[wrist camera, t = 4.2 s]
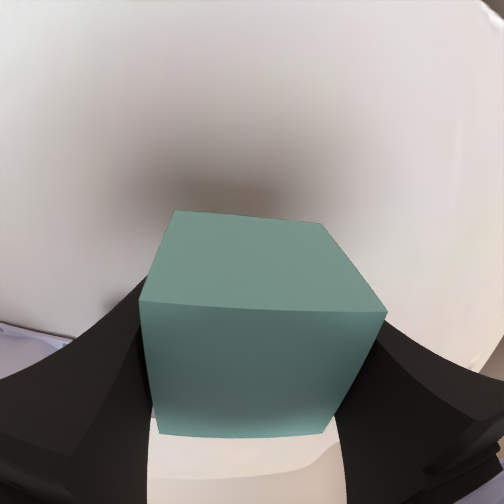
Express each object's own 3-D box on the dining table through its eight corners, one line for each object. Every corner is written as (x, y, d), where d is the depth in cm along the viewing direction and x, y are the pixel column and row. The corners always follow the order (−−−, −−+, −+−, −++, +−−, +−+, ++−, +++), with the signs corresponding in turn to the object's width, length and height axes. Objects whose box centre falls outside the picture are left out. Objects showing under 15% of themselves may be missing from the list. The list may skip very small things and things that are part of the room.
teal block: (173, 327, 12) (159, 433, 7) (174, 209, 10) (138, 300, 5) (293, 333, 12) (322, 433, 8) (321, 223, 10) (388, 311, 6)
